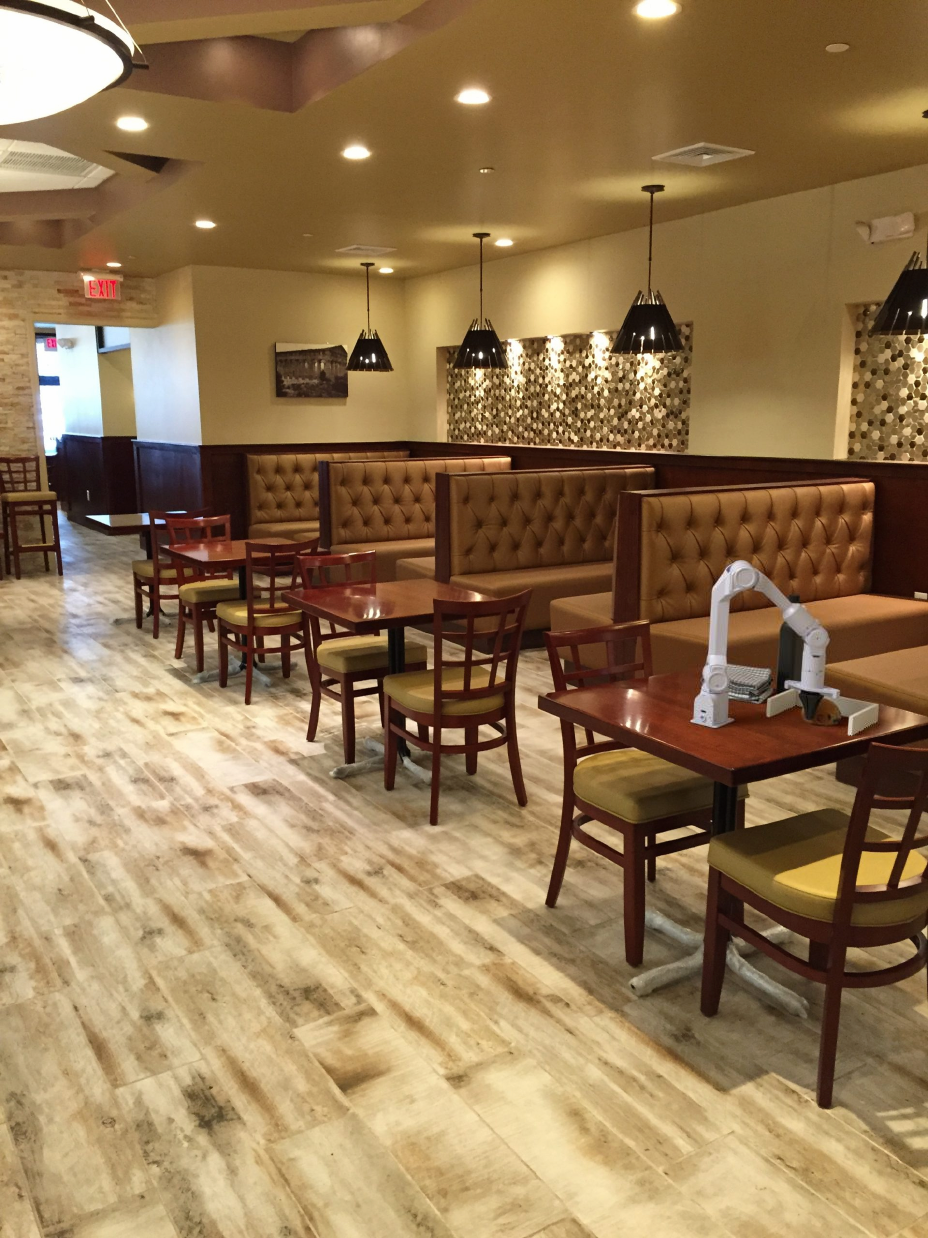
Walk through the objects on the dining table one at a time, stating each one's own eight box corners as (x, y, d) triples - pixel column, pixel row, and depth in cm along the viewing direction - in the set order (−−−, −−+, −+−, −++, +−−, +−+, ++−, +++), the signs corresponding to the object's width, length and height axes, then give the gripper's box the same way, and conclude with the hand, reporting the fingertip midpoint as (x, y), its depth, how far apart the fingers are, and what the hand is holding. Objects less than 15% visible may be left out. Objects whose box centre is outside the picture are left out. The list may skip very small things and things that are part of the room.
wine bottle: (774, 694, 294) (780, 594, 288) (785, 690, 298) (792, 592, 292) (790, 698, 290) (797, 597, 284) (802, 695, 293) (808, 595, 287)
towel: (716, 684, 306) (717, 660, 304) (776, 694, 295) (777, 668, 294) (698, 696, 293) (699, 671, 292) (760, 706, 283) (761, 680, 282)
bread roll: (830, 728, 274) (825, 699, 276) (851, 723, 265) (845, 693, 266) (797, 731, 272) (792, 702, 274) (818, 726, 262) (812, 696, 264)
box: (851, 735, 256) (852, 717, 255) (766, 716, 273) (767, 698, 272) (877, 722, 268) (878, 704, 266) (794, 704, 284) (795, 687, 283)
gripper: (846, 671, 260) (842, 721, 263) (794, 662, 270) (791, 710, 273) (834, 676, 255) (830, 727, 258) (782, 666, 265) (779, 715, 268)
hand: (809, 718), depth 265 cm, fingers closed
